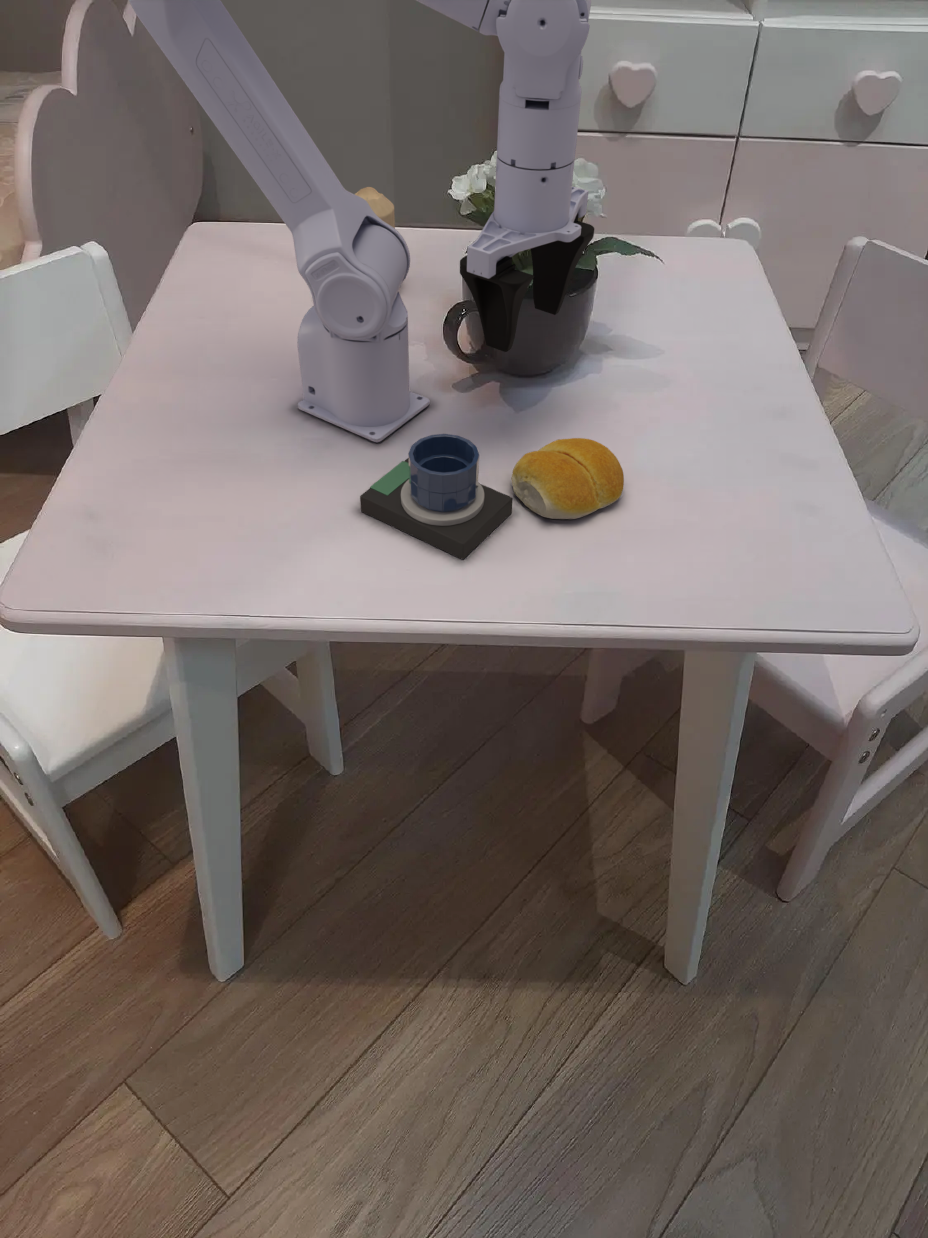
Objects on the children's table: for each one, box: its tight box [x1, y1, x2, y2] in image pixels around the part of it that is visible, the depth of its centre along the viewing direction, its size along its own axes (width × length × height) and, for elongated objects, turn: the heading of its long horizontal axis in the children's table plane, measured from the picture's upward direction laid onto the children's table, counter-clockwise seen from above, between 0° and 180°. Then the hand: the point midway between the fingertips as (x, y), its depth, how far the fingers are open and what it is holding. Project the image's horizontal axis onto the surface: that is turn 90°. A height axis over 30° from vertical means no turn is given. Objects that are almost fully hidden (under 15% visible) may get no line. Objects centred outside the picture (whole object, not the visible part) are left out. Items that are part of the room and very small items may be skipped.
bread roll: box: [510, 437, 625, 520], centre depth 77 cm, size 8×9×4 cm
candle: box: [354, 186, 396, 229], centre depth 99 cm, size 6×6×10 cm
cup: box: [407, 433, 480, 512], centre depth 72 cm, size 5×5×4 cm
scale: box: [359, 457, 514, 560], centre depth 75 cm, size 10×7×2 cm
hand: (523, 328), depth 78 cm, fingers open, 7 cm apart
